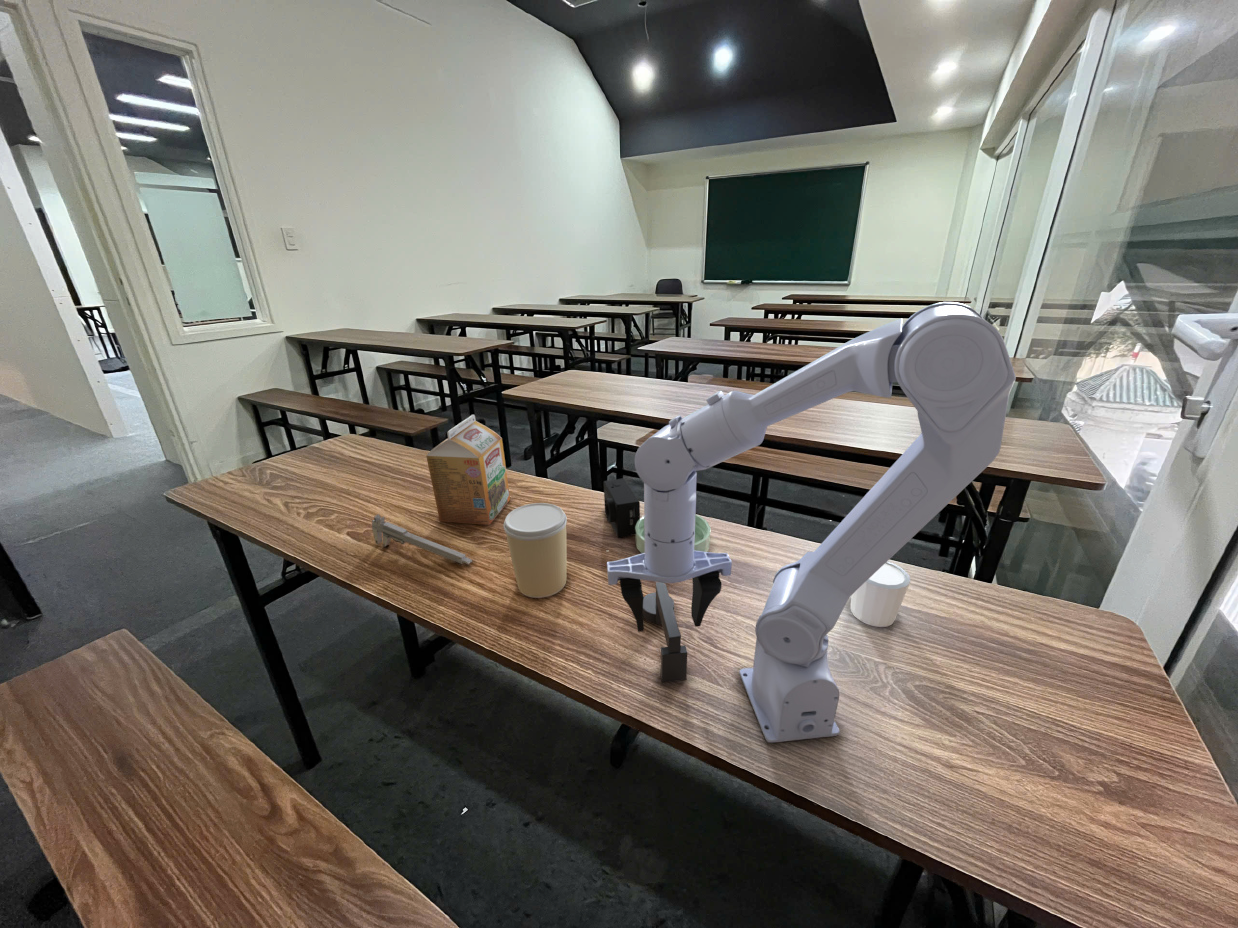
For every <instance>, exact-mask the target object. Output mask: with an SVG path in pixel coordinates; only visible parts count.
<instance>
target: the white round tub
mask: <svg viewBox="0 0 1238 928" xmlns="http://www.w3.org/2000/svg"><path fill="white" fill-rule="evenodd" d="M910 584H911V577H910V574H909V573H908V572H907V571H906V570H905V569H904V568H902V567H901V566H899V565H897V564H896V563H893V562H891V561H889V560H888V561H887V562H886V563H885V564H884V565H883V566H882V567H881V568H880V569H879V570H877V571H876V572H875V573H874V574H873V575H872V576H871V577H870V578H869V579H868V580H867V581H866V582H865V583H864V584H863V585H862V586H861V587H860V588H858V589H857V590H856V591H855V592H854V593H853V594H852V595H851V596H850V612H851V614H852V615H853V616H854V617H855V618H856V619H857V620H858V621H860V622H862V623H864V624H866V625H868V626H872V627H876V628H887V627H889V626H892V625H893V624H894V622H895V621H896V619H897V616H898V614H899V611H900V609H901V607H902V603H903V601H904V599H905V596H906V594H907V591H908V589H909V586H910Z"/></svg>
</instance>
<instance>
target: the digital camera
mask: <svg viewBox="0 0 1238 928" xmlns="http://www.w3.org/2000/svg"><path fill="white" fill-rule="evenodd" d="M603 494H604V495H603V499H604V500H603V501H604V513H605V517H606V520H607V523H609V524H610V525H611V527H612V530H613V531H614V532H615V535H616V537H617V539H618V538H619V539H620V538H625V537H632V536H635V526H636V524H637V521H638V520H639V519H640V518H641V501H640V500H639V499H638V496H637V495H636V494H635V492H634V491H633V489H632V488H631V486H630V484H629V483H628V482H627V481H626V479H625V478H616V479H609V480H603Z"/></svg>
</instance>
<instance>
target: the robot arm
mask: <svg viewBox="0 0 1238 928" xmlns="http://www.w3.org/2000/svg"><path fill="white" fill-rule="evenodd" d="M1009 354H1010V353H1009V351H1008V348H1007V345H1006V342H1005V339H1004V338H1003V335H1002V334H1001V333H1000V331H999V330H998V329H997V328H996V327H995V326H994V325H993V324H991V323H990V322H989V321H987V320H986V319H984V318H983V316H982V315H981V314H980V313H979V312H978V311H977V310H976V309H974V308H972V307H971V306H969V305H967V304H964V303H960V302H954V301H943V302H937V303H933V304H930V305H927V306H925V307H923V308H920V309H919V310H918V311H916V312H914V313H913V314H912V315H910V317H909V318H907V320H905V322H904V323H903V318H899V319H896V320H892V321H890V322H887V323H885V324H882V325H879V326H878V327H876V328H874V329H872V330H870V331H867V332H865V333H863V334H861V335H859V336H856V337H855V338H852V339H850V340H848V341H847V342H845V343H843V344H841V345H839V346H838V347H836V348H834V349H833V350H830V351H829V352H827V353H825V354H824V355H822V356H821V357H818V358H817V359H815V360H813V361H811V362H810V363H808V364H806V365H804V366H803V367H801V368H798V369H797V370H795V371H794V372H792V373H790V374H788V375H787V376H785V377H783V378H781V379H780V380H778V381H776V382H774V383H773V384H770V385H769V386H767V387H766V388H764V389H762V390H761V391H758V392H757V393H755V394H753V393H747V392H743V391H739V390H731V391H730V392H728V393H726V394H724V392H723V391H722V390H719V391H717V392H714V394H712V395H710V396H708V397H707V398H706V403H707V405H704V406H702V407H700V408H698V409H696V410H695V411H693V412H691V413H689V414H688V415H687V416H684V417H682V416H681V415H680V414H679V415H677V416H675V417H673V418H671V419H670V420H669V421H668V424H666V425H665V426H663V427H662V428H661V429H659V430H658V431H656V432H655V433H654V434H652V435H651V436H650V437H648V438H647V439H646V440H645V441H644V442H642V444H641V445H639V447H638V448H637V451H636V452H635V455H634V468H635V471H636V474H637V476H638V477H639V478H640V480H641V481H642V482H643V493H644V494H643V503H644V504H643V516H644V530H645V553H639V554H636V555H635V554H634V555H632V556H629V557H626V558H621V559H617V560H613V561H607V562H606V573H607V574H606V575H607V583H608V586H614V585H615V586H616V585H618V584H620V586H619V587H620V593H621V596H622V598H623V600H624V601H625V603H626V604H627V606H628V607H629V608H630V611H631V612H632V614H633V617H634V619H635V622H636V628H637V632H638V633H640V632H644V631H645V622H644V618H643V599H644V596H645V595H644V593H643V592H644V591H643V584H642V581H648V582H655V583H656V582H662V583H665V584H678V583H682V582H686V581H689V580H691V579H692V594H691V595H692V597H691V606H690V610H691V611H690V612H691V618H692V621H693V625H694V627H695V628H696V627H697V628H698V627H701V625H702V622H703V619H704V617H705V614H706V612H707V610H708V609H709V607H710V604H712V602H713V600H715V598H716V597H717V596H718V595H719V594H721V591H722V586H723V584H722V583H723V582H722V581H721V578H720V576H723V577H727V576H732V565H733V561H732V560H731V557H730V555H729V554H728V552H711V551H707V552H703V551H694V540H695V515H696V513H697V511H696V510H697V473H698V472H697V471H704V470H708V469H710V468H712V467H714V466H716V465H718V464H720V463H723V462H725V461H727V460H729V459H733V458H735V457H737V456H738V455H740V454H743V453H745V452H747V451H749V450H752V449H753V448H756V447H758V446H760V445H761V444H762V443H763V441H764V439H765V436H766V432H767V429H768V427H770V426H772V425H774V424H776V423H779V422H781V421H783V420H787V419H788V418H791V417H794V416H795V415H798V414H799V413H802V412H805V411H807V410H810V409H811V408H814V407H817V406H819V405H821V404H824V403H826V402H828V401H831V400H833V399H835V398H838V397H840V396H842V395H845V394H847V393H850V392H856V393H862V394H865V395H871V396H875V397H881V398H888V399H890V398H892V390H893V383H897V384H898V386H899V387H900V389H901V390H902V392H903V393H904V395H905V396H906V398H907V399H908V400H909V402H910V403H911V404H912V406H913V407H914V408H915V410H916V412H917V418H918V424H919V426H920V431H921V433H920V434H919V435H918V436H917V437H916V439H915V440H914V441H913V442H912V443H911V444H910V445H909V446H908V447H907V449H906V450H905V451H904V452H903V453H902V454H901V455H900V456H899V458H897V460H896V461H895V462H894V463H893V464H892V465H891V466H890V467H889V468H888V470H887V471H886V472H885V473H884V474H883V475H882V476H881V477H880V479H878V481H877V482H876V483H875V484H874V485H873V486H872V487H871V488H870V490H868V491H867V492H866V494H865V495H864V496H863V497H862V498H860V500H859V501H858V503H857V504H856V505H855V506H854V507H853V508H852V509H851V510H850V511H849V512H848V514H847V515H846V516H845V517H844V518H843V519H842V520H841V522H839V523H838V524H837V526H836V527H835V528H834V529H833V530H832V531H831V532H830V533H829V534H828V535H827V537H826V538H825V539H824V540H823V541H822V542H821V543H820V545H819V546H818V547H817V548H816V549H815V550H814V551H807V552H805V554H803V556H801V558H799V559H798V560H796V561H794V562H792V563H787V564H786V565H783V566H781V568H779V569H778V570H777V571H776V573H775V575H774V577H773V580H772V583H773V584H772V587H771V589H770V591H769V593H768V597H767V599H766V602H765V604H764V607H763V610H762V612H761V614H760V615H759V616H758V618H757V621H756V623H755V626H754V627H755V628H754V629H755V630H754V631H755V637H756V638H755V646H754V647H755V648H754V657H753V664H752V665H753V666H752V667H745V668H741V669H739V677H740V679H741V682H742V684H743V687H744V690H745V692H746V694H747V697H748V699H749V701H750V704H751V707H752V709H753V711H754V714H755V717H756V718H757V719H756V720H757V721H758V724H759V726H760V729H761V732H762V734H763V736H764V739H765V740H766V742H767V743H771V744H772V743H779V742H780V743H781V742H791V741H801V740H811V739H819V738H827V737H828V738H829V737H836V736H839V735H840V728H839V726H838V725H837V723H836V721H835V719H836V715H837V709H838V705H839V699H840V690H839V686H838V685H837V683H836V681H835V679H834V677H833V675H832V673H831V669H830V667H829V660H828V648H829V635H828V633H830V632H831V631H832V630H834V627H835V626H836V624H837V622H838V620H839V618H840V617H841V614H842V613H843V610H844V608H845V607H846V604H847V603H848V601H849V599H850V598H851V596H852V594H853V593H854V592H855V591H856V590H857V589H858V588H860V587H861V586H862V585H863V584H864V583H865V582H866V581H867V580H868V579H869V578H870V577H871V576H872V575H873V574H874V573H875V572H876V571H877V570H879V569H880V568H881V567H882V566H883V565H884V564H885V563H886V562H887V561H888V562H889V561H890V559H891V558H893V556H895V554H897V553H898V552H899V551H900V550H902V548H903V547H904V546H905V545H907V543H908V542H910V541H911V540H912V539H913V537H915V536H916V535H917V534H918V533H920V531H921V530H922V529H923V528H924V527H925V526H927V524H928V523H930V522H931V521H932V520H933V519H934V518H935V517H936V516H937V515H938V514H939V513H940V512H941V511H943V509H944V508H946V507H947V505H948V504H950V503H951V502H952V501H954V499H955V498H956V497H957V496H958V495H959V494H960V493H962V491H964V489H965V488H967V487H968V485H970V484H972V482H973V481H974V480H975V479H976V478H977V477H978V476H979V475H980V474H982V472H983V471H985V469H987V468H988V467H989V466H990V465H991V464H992V463H993V462H994V461H995V459H996V458H997V456H998V455H999V454H1000V451H1001V447H1002V442H1003V437H1004V436H1003V435H1004V429H1005V424H1006V417H1007V411H1008V404H1009V399H1010V393H1011V391H1012V389H1013V386H1014V384H1015V382H1016V379H1017V377H1016V373H1015V370H1014V366H1013V363H1012V360H1011V358H1010V355H1009ZM720 574H721V575H720Z"/></svg>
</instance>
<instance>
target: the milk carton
mask: <svg viewBox="0 0 1238 928" xmlns="http://www.w3.org/2000/svg"><path fill="white" fill-rule="evenodd" d="M446 433H447V438H446V439H445V440H443V441H442V442H440V443H439V444H438V445H436V446H435V447H433V448H432V449H431V450H430V451H429V452H428V453H427V454H426V456H425V458H426V462H427V467H428V472H429V476H430V481H431V486H432V490H433V491H432V492H433V495H434V496H433V497H434V500H435V506H436V510H437V515H438V521H439V522H443V523H461V524H472V525H473V524H474V525H485V526H486V525H487V526H490V525H491V524H492V523H493V521H495V519H496V518H497V517H498V515H499V514H500V513H501V512H502V510H504V508H505V507H506V506H507V504H508V503H509V502H510V501H511V495H510V487H509V481H508V480H509V479H508V473H507V466H506V459H505V451H504V443H503V438H502V437H501V436H500V435H499V434H498V433H497V432H495V431H494V430H493V429H490V428H489V427H488V426H486V425H484V424H483V423H480V422H479V421H478V420H476V415H475V414H471V415H470V416H468V417H466V418H465V419H464V420H462V421H461V422H459V423H458V424H457V425H455V426H454V427H452V428H451V429H449V430H448V431H447V432H446Z"/></svg>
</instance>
